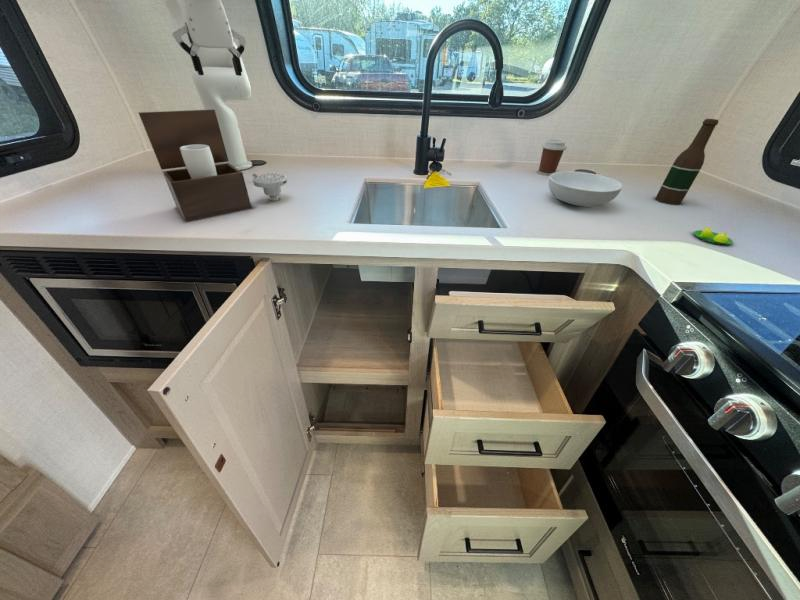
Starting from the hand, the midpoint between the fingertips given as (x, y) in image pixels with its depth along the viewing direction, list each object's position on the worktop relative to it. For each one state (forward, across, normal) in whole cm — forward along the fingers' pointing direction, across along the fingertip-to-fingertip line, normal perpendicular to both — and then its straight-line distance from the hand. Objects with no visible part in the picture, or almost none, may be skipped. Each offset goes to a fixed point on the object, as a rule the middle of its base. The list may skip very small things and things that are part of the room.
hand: (220, 75), depth 86 cm
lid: (+14, +14, +8) cm, 21 cm away
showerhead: (+31, -2, +16) cm, 34 cm away
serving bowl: (+31, -81, +72) cm, 112 cm away
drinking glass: (+30, +14, +14) cm, 36 cm away
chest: (+30, +14, +14) cm, 36 cm away
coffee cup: (+31, -105, +47) cm, 119 cm away
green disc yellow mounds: (+31, -82, +107) cm, 139 cm away
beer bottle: (+31, -108, +90) cm, 144 cm away
